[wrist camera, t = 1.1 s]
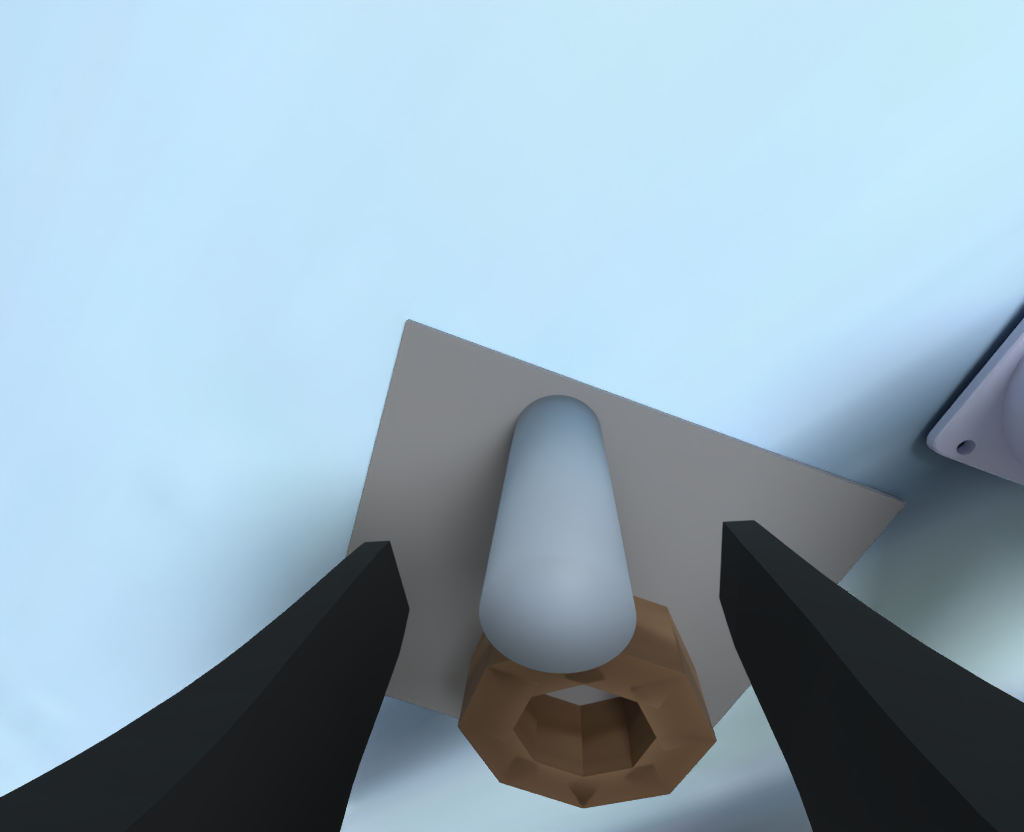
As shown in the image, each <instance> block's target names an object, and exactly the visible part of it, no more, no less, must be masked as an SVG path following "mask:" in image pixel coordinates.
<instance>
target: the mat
mask: <svg viewBox="0 0 1024 832" xmlns="http://www.w3.org/2000/svg"><path fill="white" fill-rule="evenodd" d="M550 395H565V396H570V397H573V398H576V399H578V400H580V401H582V402H583V403H585V404H586V405H588V406H589V407H590V408H591V409H592V410H593V412H594V413H595V414H596V416H597V418H598V420H599V423H600V426H601V431H602V436H603V441H604V447H605V452H606V457H607V462H608V468H609V473H610V478H611V483H612V489H613V494H614V499H615V504H616V510H617V515H618V520H619V525H620V531H621V536H622V541H623V546H624V552H625V557H626V562H627V567H628V573H629V578H630V583H631V588H632V594H633V596H636V597H639V598H642V599H645V600H648V601H651V602H654V603H657V604H660V605H663V606H666V607H667V608H668V610H669V612H670V614H671V617H672V619H673V621H674V623H675V625H676V628H677V630H678V632H679V634H680V636H681V638H682V641H683V643H684V645H685V647H686V649H687V651H688V654H689V656H690V658H691V660H692V662H693V665H694V667H695V669H696V672H697V676H698V679H699V683H700V686H701V689H702V693H703V696H704V700H705V703H706V706H707V710H708V713H709V716H710V720H711V723H712V727H713V728H714V726H715V725H716V724H717V723H718V722H719V721H720V719H721V718H722V717H723V716H724V715H725V714H726V712H727V711H728V710H729V709H730V708H731V707H732V706H733V704H734V703H735V702H736V701H737V700H738V699H739V697H740V696H741V695H742V694H743V693H744V692H745V690H746V689H747V688H748V687H749V686H750V685H751V682H750V680H749V678H748V676H747V673H746V671H745V669H744V667H743V664H742V662H741V660H740V658H739V655H738V653H737V651H736V649H735V646H734V643H733V640H732V637H731V634H730V631H729V628H728V625H727V622H726V619H725V615H724V612H723V609H722V606H721V602H720V599H719V589H720V568H721V547H722V526H723V522H727V521H745V520H755V521H756V522H757V523H759V524H760V525H761V526H763V527H764V528H765V529H766V530H768V531H769V532H770V533H771V534H773V535H774V536H775V537H776V538H778V539H779V540H780V541H781V542H783V543H784V544H785V545H786V546H788V547H789V548H790V549H792V550H793V551H794V552H795V553H797V554H798V555H799V556H800V557H802V558H803V559H804V560H806V561H807V562H808V563H809V564H811V565H812V566H813V567H815V568H816V569H817V570H819V571H820V572H821V573H822V574H824V575H825V576H826V577H828V578H829V579H830V580H832V581H833V582H834V583H836V584H838V583H839V582H840V580H841V579H842V578H843V577H844V576H845V575H846V573H847V572H848V571H849V570H850V569H851V568H852V566H853V565H854V564H855V563H856V562H857V561H858V560H859V558H860V557H861V556H862V555H863V554H864V553H865V551H866V550H867V549H868V548H869V547H870V546H871V544H872V543H873V542H874V541H875V540H876V539H877V537H878V536H879V535H880V534H881V533H882V532H883V531H884V529H885V528H886V527H887V526H888V525H889V524H890V522H891V521H892V520H893V519H894V518H895V517H896V515H897V514H898V513H899V512H900V511H901V510H902V509H903V507H904V506H905V505H906V503H905V502H904V501H903V500H902V499H900V498H897V497H895V496H892V495H889V494H886V493H884V492H881V491H878V490H875V489H873V488H870V487H867V486H864V485H862V484H859V483H856V482H853V481H851V480H848V479H845V478H843V477H840V476H837V475H834V474H832V473H829V472H826V471H823V470H821V469H818V468H815V467H812V466H810V465H807V464H804V463H801V462H799V461H796V460H793V459H790V458H788V457H785V456H782V455H780V454H777V453H774V452H771V451H769V450H766V449H763V448H760V447H758V446H755V445H752V444H749V443H747V442H744V441H741V440H738V439H736V438H733V437H730V436H727V435H725V434H722V433H719V432H717V431H714V430H711V429H708V428H706V427H703V426H700V425H697V424H695V423H692V422H689V421H686V420H684V419H681V418H678V417H675V416H673V415H670V414H667V413H664V412H662V411H659V410H656V409H653V408H651V407H648V406H645V405H643V404H640V403H637V402H634V401H632V400H629V399H626V398H623V397H621V396H618V395H615V394H612V393H610V392H607V391H604V390H601V389H599V388H596V387H593V386H590V385H588V384H585V383H582V382H580V381H577V380H574V379H571V378H569V377H566V376H563V375H560V374H558V373H555V372H552V371H549V370H547V369H544V368H541V367H538V366H536V365H533V364H530V363H527V362H525V361H522V360H519V359H517V358H514V357H511V356H508V355H506V354H503V353H500V352H497V351H495V350H492V349H489V348H486V347H484V346H481V345H478V344H475V343H473V342H470V341H467V340H464V339H462V338H459V337H456V336H454V335H451V334H448V333H445V332H443V331H440V330H437V329H434V328H432V327H429V326H426V325H423V324H421V323H418V322H415V321H412V320H410V319H408V320H407V321H406V323H405V327H404V331H403V335H402V339H401V343H400V347H399V351H398V355H397V359H396V363H395V367H394V370H393V374H392V378H391V382H390V386H389V390H388V394H387V398H386V402H385V406H384V410H383V414H382V418H381V422H380V426H379V430H378V434H377V437H376V441H375V445H374V449H373V453H372V457H371V461H370V465H369V469H368V473H367V477H366V481H365V485H364V489H363V493H362V497H361V500H360V504H359V508H358V512H357V516H356V520H355V524H354V528H353V532H352V536H351V540H350V544H349V548H348V552H347V556H348V555H349V554H351V553H352V552H353V551H354V550H355V549H357V548H358V547H359V546H360V545H362V544H363V543H364V542H375V541H390V543H391V546H392V549H393V553H394V556H395V560H396V563H397V567H398V570H399V574H400V577H401V581H402V584H403V587H404V591H405V594H406V598H407V601H408V605H409V608H410V610H409V615H408V620H407V624H406V629H405V634H404V638H403V642H402V646H401V650H400V654H399V657H398V660H397V663H396V665H395V668H394V671H393V674H392V677H391V679H390V682H389V685H388V688H387V691H386V693H385V695H386V696H389V697H392V698H396V699H399V700H402V701H405V702H408V703H411V704H414V705H418V706H421V707H424V708H427V709H430V710H433V711H436V712H440V713H443V714H446V715H449V716H452V717H455V718H458V719H459V718H460V713H461V707H462V702H463V697H464V692H465V687H466V682H467V677H468V672H469V666H470V661H471V658H472V656H473V654H474V652H475V649H476V647H477V645H478V643H479V641H480V638H481V636H482V634H483V632H484V631H483V629H482V626H481V622H480V617H479V606H480V600H481V595H482V590H483V585H484V580H485V575H486V570H487V565H488V560H489V555H490V550H491V545H492V540H493V535H494V530H495V525H496V520H497V515H498V510H499V505H500V500H501V495H502V490H503V485H504V480H505V475H506V470H507V465H508V460H509V455H510V450H511V445H512V440H513V435H514V430H515V425H516V422H517V419H518V417H519V415H520V414H521V412H522V411H523V410H524V409H525V408H526V407H527V406H528V405H529V404H531V403H532V402H534V401H535V400H537V399H540V398H542V397H546V396H550ZM347 556H346V557H347ZM546 695H549V696H552V697H555V698H558V699H561V700H565V701H568V702H571V703H574V704H577V705H580V706H581V705H585V704H590V703H594V702H598V701H603V700H607V699H612V698H616V697H620V696H617V695H614V694H611V693H608V692H605V691H602V690H599V689H596V688H593V687H590V686H587V685H580V686H575V687H571V688H567V689H563V690H559V691H554V692H550V693H546Z"/></svg>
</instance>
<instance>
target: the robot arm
mask: <svg viewBox="0 0 1024 832" xmlns="http://www.w3.org/2000/svg"><path fill="white" fill-rule="evenodd" d="M963 441H965V443H964V445H963V446H961V447H960V448H957V447H958V445H959V444H960V443H961V442H963ZM926 443H927V445H928V447H929V448H930V449H932V450H933V451H935V452H937V453H938V454H940V455H942V456H945V457H948V458H950V459H953V460H956V461H958V462H961V463H964V464H966V465H969V466H972V467H974V468H977V469H980V470H982V471H985V472H988V473H991V474H993V475H996V476H999V477H1001V478H1004V479H1007V480H1009V481H1012V482H1015V483H1017V484H1020V485H1023V486H1024V318H1023V320H1022V321H1021V322H1020V323H1019V325H1018V326H1017V327H1016V328H1015V329H1014V331H1013V332H1012V333H1011V334H1010V335H1009V337H1008V338H1007V339H1006V340H1005V342H1004V343H1003V344H1002V345H1001V346H1000V348H999V349H998V350H997V351H996V352H995V354H994V355H993V356H992V357H991V359H990V360H989V361H988V362H987V363H986V365H985V366H984V367H983V368H982V370H981V371H980V372H979V373H978V374H977V376H976V377H975V378H974V379H973V380H972V382H971V383H970V384H969V385H968V387H967V388H966V389H965V390H964V391H963V393H962V394H961V395H960V396H959V397H958V399H957V400H956V401H955V402H954V404H953V405H952V406H951V407H950V408H949V410H948V411H947V412H946V413H945V414H944V416H943V417H942V418H941V419H940V421H939V422H938V423H937V424H936V425H935V427H934V428H933V429H932V430H931V431H930V433H929V435H928V436H927V442H926ZM719 599H720V602H721V606H722V609H723V612H724V615H725V619H726V622H727V625H728V628H729V631H730V634H731V637H732V640H733V643H734V646H735V649H736V651H737V653H738V655H739V658H740V660H741V662H742V664H743V667H744V669H745V671H746V673H747V676H748V678H749V680H750V682H751V685H752V687H753V689H754V691H755V694H756V696H757V698H758V700H759V702H760V705H761V707H762V709H763V711H764V713H765V716H766V718H767V720H768V722H769V724H770V727H771V729H772V731H773V733H774V735H775V738H776V740H777V742H778V744H779V746H780V749H781V751H782V753H783V755H784V758H785V760H786V762H787V764H788V767H789V769H790V771H791V774H792V776H793V779H794V781H795V784H796V786H797V788H798V791H799V793H800V796H801V799H802V802H803V804H804V807H805V810H806V813H807V816H808V818H809V821H810V824H811V827H812V830H813V832H1024V703H1023V702H1021V701H1020V700H1018V699H1016V698H1014V697H1012V696H1011V695H1009V694H1007V693H1005V692H1004V691H1002V690H1000V689H998V688H996V687H995V686H993V685H991V684H989V683H988V682H986V681H984V680H982V679H981V678H979V677H977V676H976V675H974V674H973V673H971V672H969V671H968V670H966V669H964V668H963V667H961V666H959V665H958V664H956V663H954V662H953V661H951V660H949V659H948V658H946V657H944V656H943V655H941V654H939V653H938V652H936V651H934V650H933V649H931V648H929V647H928V646H926V645H925V644H923V643H922V642H920V641H918V640H917V639H915V638H914V637H912V636H911V635H909V634H908V633H906V632H905V631H903V630H902V629H900V628H899V627H897V626H896V625H894V624H893V623H891V622H890V621H888V620H887V619H885V618H884V617H882V616H881V615H879V614H878V613H876V612H875V611H873V610H872V609H871V608H869V607H868V606H866V605H865V604H863V603H862V602H861V601H859V600H858V599H856V598H855V597H854V596H852V595H851V594H849V593H848V592H847V591H845V590H844V589H843V588H841V587H840V586H838V585H837V584H836V583H834V582H833V581H832V580H830V579H829V578H828V577H826V576H825V575H824V574H822V573H821V572H820V571H819V570H817V569H816V568H815V567H813V566H812V565H811V564H809V563H808V562H807V561H806V560H804V559H803V558H802V557H800V556H799V555H798V554H797V553H795V552H794V551H793V550H792V549H790V548H789V547H788V546H786V545H785V544H784V543H783V542H781V541H780V540H779V539H778V538H776V537H775V536H774V535H773V534H771V533H770V532H769V531H768V530H766V529H765V528H764V527H763V526H761V525H760V524H759V523H757V522H756V521H755V520H745V521H727V522H723V526H722V547H721V568H720V589H719ZM409 610H410V608H409V605H408V601H407V598H406V594H405V591H404V587H403V584H402V581H401V577H400V574H399V570H398V567H397V563H396V560H395V556H394V553H393V549H392V546H391V543H390V541H375V542H364V543H363V544H362V545H360V546H359V547H358V548H357V549H355V550H354V551H353V552H352V553H351V554H349V555H348V556H347V557H346V558H345V559H344V560H343V561H341V562H340V563H339V564H338V565H337V566H336V567H335V568H334V569H332V570H331V571H330V572H329V573H328V574H327V575H326V576H325V577H324V578H322V579H321V580H320V581H319V582H318V583H317V584H316V585H314V586H313V587H312V588H311V589H310V590H309V591H308V592H306V593H305V594H304V595H303V596H302V597H301V598H300V599H299V600H297V601H296V602H295V603H294V604H293V605H292V606H291V607H289V608H288V609H287V610H286V611H285V612H283V613H282V614H281V615H280V616H278V617H277V618H276V619H275V620H274V621H272V622H271V623H270V624H269V625H267V626H266V627H265V628H264V629H263V630H261V631H260V632H259V633H258V634H256V635H255V636H254V637H253V638H252V639H250V640H249V641H248V642H247V643H245V644H244V645H243V646H242V647H240V648H239V649H238V650H236V651H235V652H234V653H233V654H231V655H230V656H229V657H227V658H226V659H225V660H223V661H222V662H221V663H219V664H218V665H217V666H215V667H214V668H212V669H211V670H209V671H208V672H207V673H205V674H204V675H202V676H201V677H200V678H198V679H197V680H195V681H194V682H193V683H191V684H190V685H188V686H187V687H185V688H184V689H183V690H181V691H180V692H178V693H177V694H175V695H174V696H172V697H170V698H169V699H167V700H166V701H164V702H163V703H161V704H160V705H158V706H156V707H155V708H153V709H152V710H150V711H149V712H147V713H145V714H144V715H142V716H141V717H139V718H138V719H136V720H135V721H133V722H131V723H130V724H128V725H127V726H125V727H124V728H122V729H120V730H119V731H117V732H116V733H114V734H112V735H111V736H109V737H107V738H106V739H104V740H102V741H101V742H99V743H97V744H96V745H94V746H92V747H90V748H89V749H87V750H85V751H84V752H82V753H80V754H78V755H77V756H75V757H73V758H72V759H70V760H68V761H66V762H64V763H63V764H61V765H59V766H57V767H55V768H54V769H52V770H50V771H48V772H47V773H45V774H43V775H41V776H39V777H38V778H36V779H34V780H32V781H30V782H28V783H27V784H25V785H23V786H21V787H19V788H17V789H15V790H14V791H12V792H10V793H8V794H6V795H4V796H2V797H0V832H340V830H341V826H342V822H343V819H344V815H345V811H346V807H347V804H348V800H349V796H350V793H351V789H352V786H353V783H354V780H355V777H356V774H357V770H358V767H359V764H360V761H361V759H362V756H363V753H364V750H365V748H366V745H367V742H368V740H369V737H370V734H371V731H372V729H373V726H374V723H375V720H376V718H377V715H378V712H379V710H380V707H381V704H382V701H383V699H384V696H385V693H386V691H387V688H388V685H389V682H390V679H391V677H392V674H393V671H394V668H395V665H396V663H397V660H398V657H399V654H400V650H401V646H402V642H403V638H404V634H405V629H406V624H407V620H408V615H409Z"/></svg>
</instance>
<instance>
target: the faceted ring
mask: <svg viewBox="0 0 1024 832" xmlns="http://www.w3.org/2000/svg"><path fill="white" fill-rule="evenodd" d="M633 599H634V604H635V609H636V627H635V631H634V634H633V637H632V638H631V640H630V642H629V644H628V645H627V646H626V648H625V649H624V650H623V651H622V652H621V653H620V654H619V655H618V656H616V657H615V658H614V659H612V660H611V661H609V662H607V663H605V664H604V665H601V666H599V667H596V668H594V669H590V670H587V671H582V672H577V673H548V672H542V671H537V670H534V669H530V668H527V667H525V666H522V665H520V664H518V663H516V662H514V661H512V660H510V659H509V658H507V657H506V656H504V655H503V654H502V653H501V652H499V651H498V650H497V649H496V648H495V647H494V646H493V645H492V644H491V642H490V641H489V640H488V638H487V637H486V635H485V633H484V632H483V634H482V636H481V638H480V641H479V643H478V645H477V647H476V649H475V652H474V654H473V656H472V658H471V661H470V666H469V672H468V677H467V682H466V687H465V692H464V697H463V702H462V707H461V713H460V718H459V723H458V728H459V729H460V730H461V732H462V733H463V734H464V736H465V737H466V738H467V740H468V741H469V742H470V744H471V745H472V746H473V748H474V749H475V750H476V752H477V753H478V754H479V756H480V757H481V758H482V760H483V761H484V762H485V764H486V765H487V766H488V768H489V769H490V770H491V772H492V773H493V774H494V776H495V777H496V778H497V779H498V781H499V782H500V783H503V784H506V785H509V786H513V787H516V788H519V789H522V790H525V791H529V792H532V793H535V794H538V795H542V796H545V797H548V798H551V799H554V800H558V801H561V802H564V803H567V804H570V805H574V806H577V807H580V808H589V807H595V806H601V805H607V804H613V803H619V802H625V801H631V800H637V799H642V798H648V797H654V796H660V795H666V794H670V793H671V792H672V791H673V790H674V789H675V788H676V786H677V785H678V784H679V783H680V782H681V781H682V780H683V778H684V777H685V776H686V775H687V774H688V773H689V772H690V771H691V769H692V768H693V767H694V766H695V765H696V764H697V763H698V762H699V760H700V759H701V758H702V757H703V756H704V755H705V754H706V752H707V751H708V750H709V749H710V748H711V747H712V746H713V745H714V743H715V742H716V741H717V740H716V737H715V733H714V730H713V727H712V723H711V720H710V716H709V713H708V710H707V706H706V703H705V700H704V696H703V693H702V689H701V686H700V683H699V679H698V676H697V672H696V669H695V667H694V665H693V662H692V660H691V658H690V656H689V654H688V651H687V649H686V647H685V645H684V643H683V641H682V638H681V636H680V634H679V632H678V630H677V628H676V625H675V623H674V621H673V619H672V617H671V614H670V612H669V610H668V608H667V607H666V606H663V605H660V604H657V603H654V602H651V601H648V600H645V599H642V598H639V597H636V596H633ZM580 685H587V686H590V687H593V688H596V689H599V690H602V691H605V692H608V693H611V694H614V695H617V696H620V697H616V698H612V699H607V700H603V701H598V702H594V703H590V704H585V705H581V706H580V705H577V704H574V703H571V702H568V701H565V700H561V699H558V698H555V697H552V696H549V695H546V693H550V692H554V691H559V690H563V689H567V688H571V687H575V686H580Z"/></svg>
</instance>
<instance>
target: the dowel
mask: <svg viewBox="0 0 1024 832" xmlns="http://www.w3.org/2000/svg"><path fill="white" fill-rule="evenodd" d="M479 617H480V622H481V626H482V629H483V631H484V633H485V635H486V637H487V638H488V640H489V641H490V642H491V644H492V645H493V646H494V647H495V648H496V649H497V650H498V651H499V652H501V653H502V654H503V655H504V656H506V657H507V658H509V659H510V660H512V661H514V662H516V663H518V664H520V665H522V666H525V667H527V668H530V669H534V670H537V671H542V672H548V673H577V672H582V671H587V670H590V669H594V668H596V667H599V666H601V665H604V664H605V663H607V662H609V661H611V660H612V659H614V658H615V657H616V656H618V655H619V654H620V653H621V652H622V651H623V650H624V649H625V648H626V646H627V645H628V644H629V642H630V640H631V638H632V637H633V634H634V631H635V627H636V609H635V604H634V599H633V594H632V588H631V583H630V578H629V573H628V567H627V562H626V557H625V552H624V546H623V541H622V536H621V531H620V525H619V520H618V515H617V510H616V504H615V499H614V494H613V489H612V483H611V478H610V473H609V468H608V462H607V457H606V452H605V447H604V441H603V436H602V431H601V426H600V423H599V420H598V418H597V416H596V414H595V413H594V412H593V410H592V409H591V408H590V407H589V406H588V405H586V404H585V403H583V402H582V401H580V400H578V399H576V398H573V397H570V396H565V395H550V396H546V397H542V398H540V399H537V400H535V401H534V402H532V403H531V404H529V405H528V406H527V407H526V408H525V409H524V410H523V411H522V412H521V414H520V415H519V417H518V419H517V422H516V425H515V430H514V435H513V440H512V445H511V450H510V455H509V460H508V465H507V470H506V475H505V480H504V485H503V490H502V495H501V500H500V505H499V510H498V515H497V520H496V525H495V530H494V535H493V540H492V545H491V550H490V555H489V560H488V565H487V570H486V575H485V580H484V585H483V590H482V595H481V600H480V606H479Z"/></svg>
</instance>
